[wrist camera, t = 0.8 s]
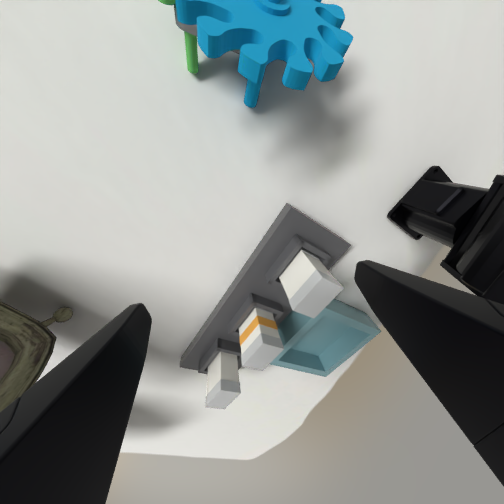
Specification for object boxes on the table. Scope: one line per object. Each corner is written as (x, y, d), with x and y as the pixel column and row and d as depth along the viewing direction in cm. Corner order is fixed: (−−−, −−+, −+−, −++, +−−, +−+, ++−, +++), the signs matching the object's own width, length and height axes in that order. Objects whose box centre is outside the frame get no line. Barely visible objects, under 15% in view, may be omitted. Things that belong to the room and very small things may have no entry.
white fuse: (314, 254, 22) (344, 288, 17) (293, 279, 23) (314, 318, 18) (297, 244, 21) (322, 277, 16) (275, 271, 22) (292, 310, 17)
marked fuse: (270, 306, 25) (284, 349, 20) (254, 326, 27) (262, 370, 21) (253, 300, 24) (262, 343, 19) (237, 321, 26) (242, 366, 20)
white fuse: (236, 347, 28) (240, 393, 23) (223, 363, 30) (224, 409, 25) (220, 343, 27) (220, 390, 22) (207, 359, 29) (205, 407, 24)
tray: (365, 313, 31) (381, 331, 28) (316, 357, 36) (325, 376, 33) (310, 288, 27) (322, 306, 24) (262, 342, 31) (266, 363, 28)
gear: (362, -18, 12) (359, 86, 9) (313, 85, 17) (300, 172, 14) (183, -112, 10) (100, -26, 7) (192, 35, 16) (147, 120, 13)
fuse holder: (343, 239, 23) (359, 251, 21) (231, 367, 33) (232, 386, 31) (286, 202, 20) (296, 211, 17) (181, 357, 30) (177, 377, 27)
